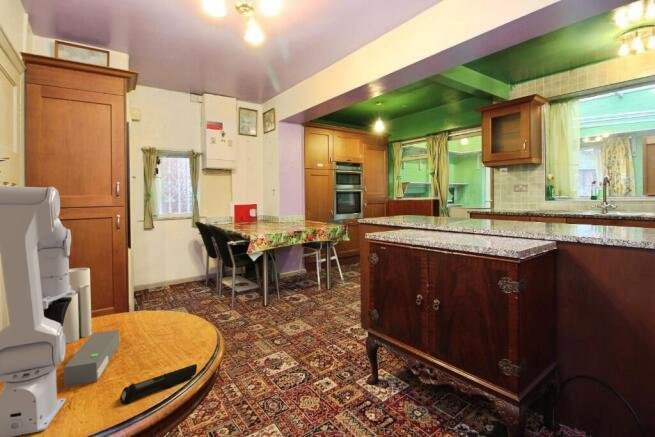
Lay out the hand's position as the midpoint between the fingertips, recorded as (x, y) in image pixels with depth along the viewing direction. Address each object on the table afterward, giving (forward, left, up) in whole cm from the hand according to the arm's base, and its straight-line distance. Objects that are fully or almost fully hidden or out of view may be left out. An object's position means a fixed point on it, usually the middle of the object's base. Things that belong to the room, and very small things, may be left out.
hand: (56, 328), depth 79 cm
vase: (+20, +2, -10) cm, 22 cm away
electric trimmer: (-19, -25, -10) cm, 33 cm away
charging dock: (-2, -9, -9) cm, 13 cm away
